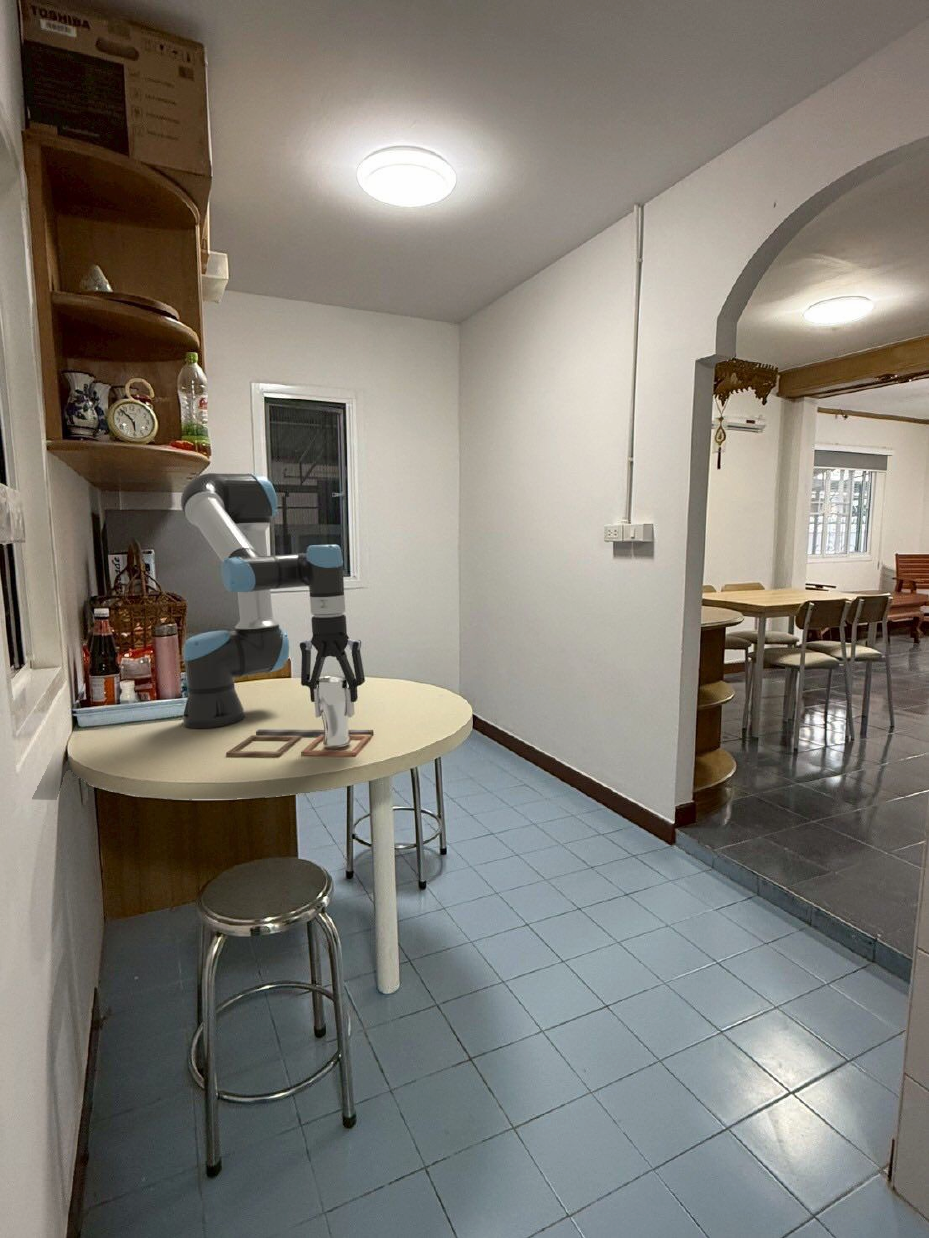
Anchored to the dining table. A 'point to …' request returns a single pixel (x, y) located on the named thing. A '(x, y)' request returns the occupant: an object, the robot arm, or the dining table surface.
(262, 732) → the double square frame
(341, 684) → the beer glass
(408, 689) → the dining table surface
